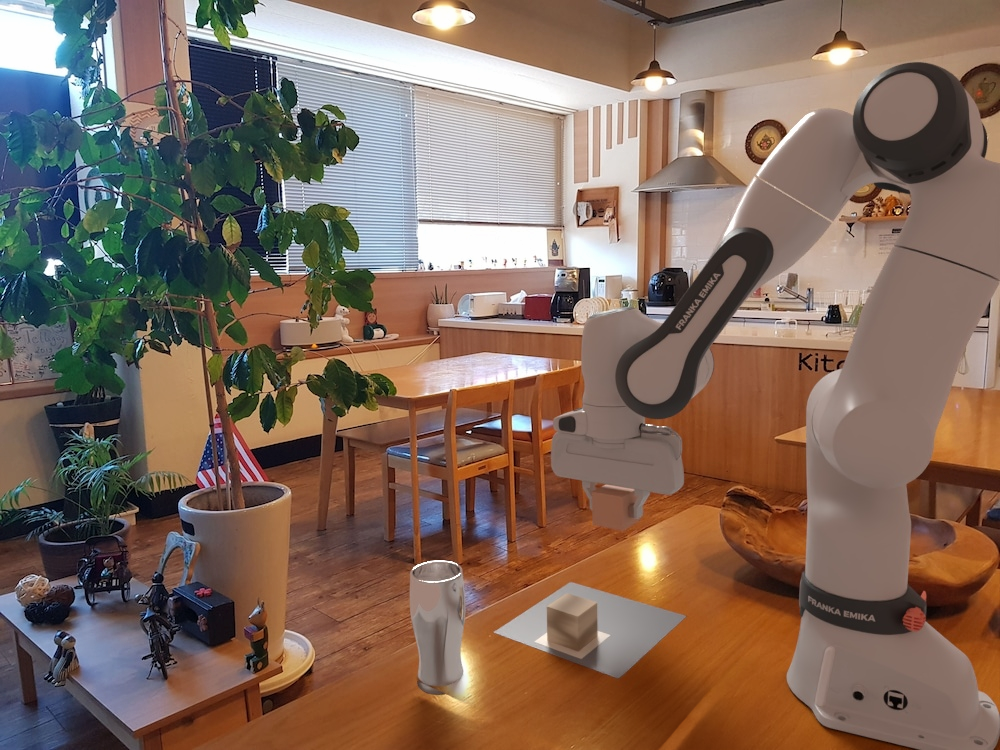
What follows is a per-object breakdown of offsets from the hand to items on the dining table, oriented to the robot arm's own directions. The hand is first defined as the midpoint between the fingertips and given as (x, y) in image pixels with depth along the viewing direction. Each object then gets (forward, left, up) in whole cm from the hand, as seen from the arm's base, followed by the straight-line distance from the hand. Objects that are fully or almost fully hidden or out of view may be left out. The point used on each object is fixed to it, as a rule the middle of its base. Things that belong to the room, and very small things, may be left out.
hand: (615, 513), depth 109 cm
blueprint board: (0, +7, -16) cm, 17 cm away
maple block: (0, +12, -15) cm, 19 cm away
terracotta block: (0, 0, -1) cm, 1 cm away
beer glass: (+9, +29, -16) cm, 34 cm away
